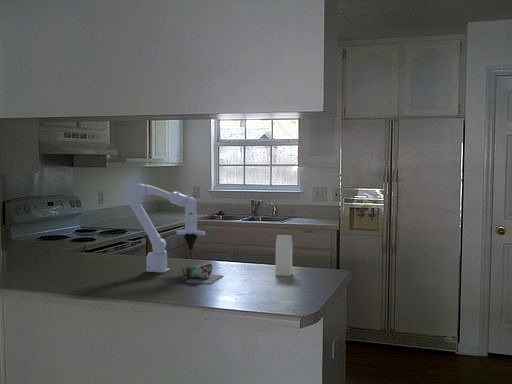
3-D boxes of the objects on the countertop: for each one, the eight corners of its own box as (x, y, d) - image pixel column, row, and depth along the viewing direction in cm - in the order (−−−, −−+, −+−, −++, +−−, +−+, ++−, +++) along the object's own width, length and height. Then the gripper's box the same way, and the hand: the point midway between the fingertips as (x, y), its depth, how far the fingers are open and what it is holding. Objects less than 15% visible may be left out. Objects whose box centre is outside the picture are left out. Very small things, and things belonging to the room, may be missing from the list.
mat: (185, 282, 237) (185, 281, 237) (199, 274, 253) (199, 273, 253) (210, 284, 234) (210, 283, 234) (223, 276, 249) (223, 275, 249)
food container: (182, 282, 240) (201, 280, 236) (180, 268, 240) (199, 266, 236) (195, 278, 251) (214, 276, 247) (194, 265, 252) (212, 263, 248)
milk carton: (290, 276, 250) (290, 236, 249) (275, 275, 251) (275, 235, 250) (292, 273, 257) (292, 234, 256) (277, 272, 258) (278, 233, 257)
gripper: (173, 222, 259) (174, 249, 260) (201, 223, 255) (201, 251, 256) (179, 220, 266) (180, 247, 267) (206, 221, 262) (207, 249, 263)
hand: (191, 249), depth 262 cm, fingers closed
